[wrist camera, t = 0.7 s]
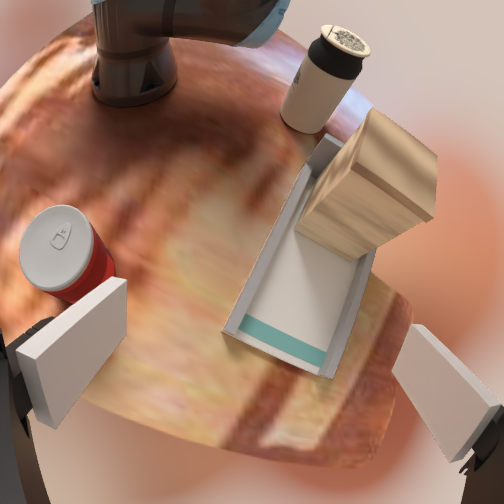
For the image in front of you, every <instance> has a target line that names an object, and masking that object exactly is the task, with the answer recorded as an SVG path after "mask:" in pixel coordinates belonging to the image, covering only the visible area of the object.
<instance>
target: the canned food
mask: <svg viewBox="0 0 504 504" xmlns="http://www.w3.org/2000/svg"><path fill="white" fill-rule="evenodd" d="M19 260H20V266H21V269H22V272H23V274H24V275H25V277H26V279H27V280H28V281H29V282H30V283H31V284H33V285H34V286H35V287H37V288H38V289H40V290H42V291H44V292H46V293H48V294H50V295H52V296H55V297H57V298H59V299H62V300H64V301H66V302H69V303H71V304H75V303H76V302H77V301H79V300H80V299H81V298H83V297H84V296H85V295H87V294H88V293H90V292H91V291H92V290H94V289H95V288H96V287H98V286H99V285H101V284H102V283H103V282H105V281H106V280H108V279H109V278H110V277H112V276H113V277H114V274H115V267H114V262H113V258H112V256H111V254H110V252H109V251H108V249H107V248H106V246H105V245H104V243H103V242H102V240H101V239H100V237H99V236H98V234H97V233H96V231H95V229H94V228H93V226H92V225H91V223H90V222H89V220H88V219H87V218H86V216H85V215H84V214H83V213H82V212H81V211H79V210H78V209H77V208H74V207H72V206H69V205H55V206H51V207H49V208H47V209H45V210H43V211H42V212H40V213H39V214H38V215H37V216H36V217H35V218H34V219H33V220H32V221H31V222H30V223H29V225H28V226H27V228H26V230H25V232H24V234H23V237H22V239H21V243H20V249H19Z"/></svg>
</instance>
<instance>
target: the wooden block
mask: <svg viewBox="0 0 504 504" xmlns="http://www.w3.org/2000/svg"><path fill="white" fill-rule="evenodd" d="M436 182H437V155H436V154H434V153H433V152H432V151H431V150H430V149H428V148H427V147H426V146H425V145H424V144H423V143H421V142H420V141H419V140H418V139H416V138H415V137H414V136H412V135H411V134H410V133H408V132H407V131H406V130H405V129H403V128H402V127H401V126H399V125H398V124H397V123H395V122H394V121H392V120H391V119H390V118H388V117H387V116H385V115H384V114H382V113H381V112H380V111H378V110H377V109H375V108H374V107H372V108H371V109H370V111H369V112H368V113H367V116H366V119H365V120H364V122H363V123H362V124H361V125H360V126H359V128H358V129H357V130H356V131H355V133H354V134H353V135H352V136H351V137H350V139H349V140H348V141H347V142H346V144H345V145H344V146H343V147H342V148H341V150H340V151H339V152H338V153H337V155H336V156H335V157H334V158H333V159H332V161H331V162H330V163H329V164H328V166H327V167H326V168H325V169H324V170H323V172H322V173H321V174H320V175H319V177H318V178H317V179H316V180H315V182H314V185H313V187H312V189H311V192H310V194H309V196H308V198H307V201H306V203H305V205H304V207H303V210H302V212H301V214H300V217H299V219H298V221H297V223H296V226H295V228H294V230H296V231H297V232H299V233H301V234H303V235H305V236H306V237H308V238H310V239H311V240H313V241H315V242H317V243H318V244H320V245H322V246H324V247H325V248H327V249H329V250H330V251H332V252H334V253H336V254H337V255H339V256H341V257H342V258H344V259H346V260H347V261H349V262H351V261H353V260H355V259H357V258H359V257H361V256H362V255H364V254H366V253H368V252H370V251H372V250H373V249H375V248H377V247H379V246H381V245H382V244H384V243H386V242H388V241H390V240H391V239H393V238H394V237H397V236H398V235H400V234H402V233H403V232H405V231H407V230H409V229H410V228H412V227H414V226H416V225H417V224H419V223H421V222H422V221H424V222H428V221H430V220H431V219H433V218H434V212H435V200H436Z"/></svg>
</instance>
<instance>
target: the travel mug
mask: <svg viewBox="0 0 504 504" xmlns="http://www.w3.org/2000/svg"><path fill="white" fill-rule="evenodd" d="M370 52H371V51H370V48H369V47H368V45H367V44H366V43H365V42H364V41H363V40H362V39H360V38H359V37H358V36H357V35H355V34H353V33H352V32H350V31H348V30H346V29H343V28H341V27H337V26H333V25H325V26H323V27H322V28H321V36H320V38H318V39H316V40H315V41H313V42H312V44H311V45H310V47H309V49H308V51H307V54H306V56H305V58H304V60H303V62H302V64H301V66H300V68H299V70H298V72H297V74H296V76H295V78H294V80H293V82H292V84H291V87H290V89H289V91H288V93H287V95H286V97H285V99H284V101H283V103H282V106H281V108H280V113H281V116H282V118H283V120H284V121H285V122H286V123H287V124H288V125H289V126H290V127H292V128H293V129H295V130H297V131H299V132H303V133H308V134H313V133H317V132H319V131H320V130H321V129H322V128H323V126H324V125H325V123H326V122H327V120H328V119H329V117H330V116H331V114H332V113H333V111H334V110H335V109H336V107H337V106H338V104H339V103H340V101H341V100H342V98H343V97H344V95H345V94H346V92H347V91H348V89H349V88H350V86H351V85H352V83H353V82H354V80H355V79H356V77H357V76H358V75H359V73H360V72H361V70H362V60H363V59H364V58H365V57H368V56H370V54H371V53H370Z"/></svg>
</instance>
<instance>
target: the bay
mask: <svg viewBox="0 0 504 504" xmlns="http://www.w3.org/2000/svg"><path fill="white" fill-rule="evenodd" d="M344 145H345V144H344V143H342V142H341V141H339V140H337V139H336V138H334V137H332V136H331V135H329V134H327V133H326V134H325V135H324V137H323V138H322V140H321V141H320V142H319V144H318V145H317V147H316V148H315V149H314V151H313V152H312V154H311V155H310V157H309V158H308V159H307V161H306V162H305V164H304V165H303V167H302V168H301V170H300V172H299V174H298V176H297V178H296V180H295V182H294V184H293V186H292V188H291V190H290V192H289V194H288V196H287V198H286V200H285V202H284V204H283V206H282V209H281V211H280V213H279V215H278V217H277V219H276V221H275V223H274V225H273V227H272V229H271V231H270V233H269V235H268V237H267V239H266V241H265V243H264V245H263V247H262V249H261V251H260V253H259V255H258V257H257V259H256V261H255V263H254V265H253V267H252V269H251V271H250V273H249V275H248V277H247V279H246V281H245V283H244V286H243V288H242V290H241V292H240V294H239V296H238V298H237V300H236V302H235V304H234V306H233V308H232V310H231V312H230V314H229V316H228V318H227V320H226V322H225V324H224V326H223V328H222V330H221V331H222V332H224V333H226V334H228V335H230V336H232V337H234V338H236V339H238V340H240V341H242V342H244V343H246V344H248V345H250V346H252V347H254V348H256V349H258V350H260V351H263V352H265V353H267V354H269V355H271V356H273V357H276V358H278V359H280V360H282V361H284V362H287V363H289V364H291V365H294V366H296V367H298V368H300V369H303V370H305V371H307V372H310V373H312V374H315V375H317V376H319V377H322V378H328V379H333V377H334V375H335V372H336V370H337V367H338V365H339V362H340V360H341V357H342V354H343V352H344V349H345V347H346V344H347V341H348V338H349V336H350V333H351V330H352V327H353V324H354V322H355V319H356V316H357V313H358V310H359V307H360V304H361V300H362V297H363V294H364V291H365V288H366V284H367V281H368V278H369V274H370V271H371V267H372V264H373V260H374V257H375V253H376V248H375V249H373V250H372V251H370V252H368V253H366V254H364V255H362V256H361V257H359V258H357V259H355V260H353V261H351V262H349V261H347V260H346V259H344V258H342V257H341V256H339V255H337V254H336V253H334V252H332V251H330V250H329V249H327V248H325V247H324V246H322V245H320V244H318V243H317V242H315V241H313V240H311V239H310V238H308V237H306V236H305V235H303V234H301V233H299V232H297V231H296V230H294V228H295V226H296V223H297V221H298V219H299V217H300V214H301V212H302V210H303V207H304V205H305V203H306V201H307V198H308V196H309V194H310V192H311V189H312V187H313V185H314V182H315V180H316V179H317V178H318V177H319V175H320V174H321V173H322V172H323V170H324V169H325V168H326V167H327V166H328V164H329V163H330V162H331V161H332V159H333V158H334V157H335V156H336V155H337V153H338V152H339V151H340V150H341V148H342V147H343V146H344Z"/></svg>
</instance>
